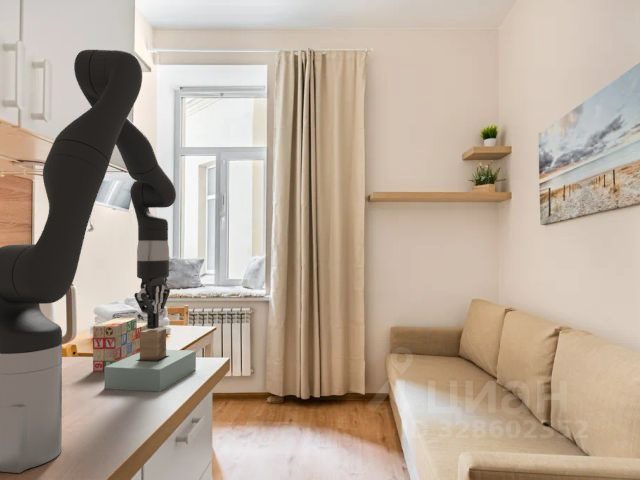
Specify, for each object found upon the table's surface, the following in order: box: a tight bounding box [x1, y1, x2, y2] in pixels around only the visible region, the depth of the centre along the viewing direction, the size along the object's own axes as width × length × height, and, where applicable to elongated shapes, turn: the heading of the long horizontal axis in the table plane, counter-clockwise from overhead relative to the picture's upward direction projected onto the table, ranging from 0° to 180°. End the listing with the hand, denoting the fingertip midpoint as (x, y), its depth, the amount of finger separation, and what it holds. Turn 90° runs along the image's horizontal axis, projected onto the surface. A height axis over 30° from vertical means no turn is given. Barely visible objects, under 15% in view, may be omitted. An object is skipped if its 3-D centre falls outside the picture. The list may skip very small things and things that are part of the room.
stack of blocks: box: [92, 317, 148, 372], centre depth 126 cm, size 21×6×12 cm, turn 177°
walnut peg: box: [139, 328, 167, 362], centre depth 109 cm, size 5×5×12 cm
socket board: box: [103, 349, 197, 392], centre depth 109 cm, size 18×14×5 cm
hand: (153, 328), depth 109 cm, fingers closed
